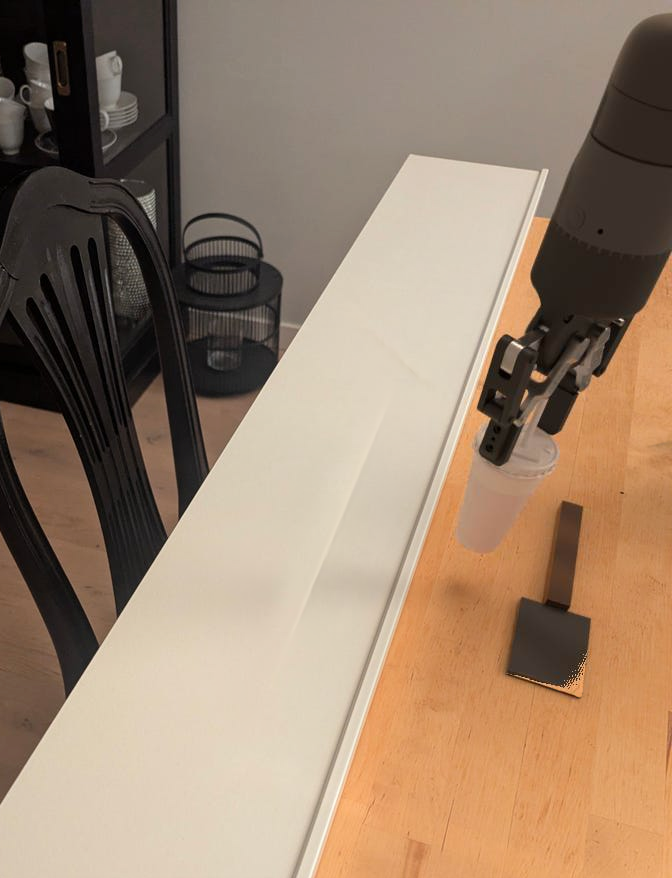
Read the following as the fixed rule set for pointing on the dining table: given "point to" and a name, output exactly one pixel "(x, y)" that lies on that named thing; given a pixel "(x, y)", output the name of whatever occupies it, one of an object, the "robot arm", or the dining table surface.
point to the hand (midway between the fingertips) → (519, 443)
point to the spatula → (553, 614)
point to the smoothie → (504, 486)
